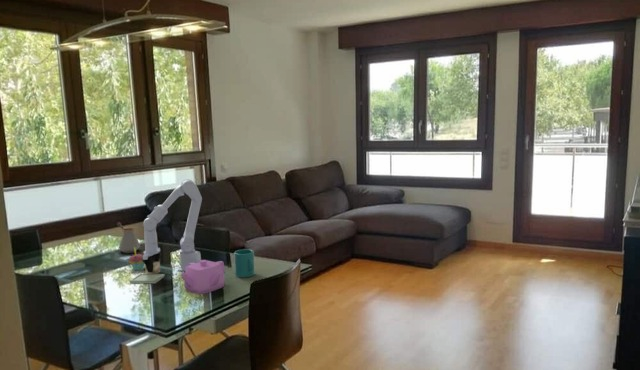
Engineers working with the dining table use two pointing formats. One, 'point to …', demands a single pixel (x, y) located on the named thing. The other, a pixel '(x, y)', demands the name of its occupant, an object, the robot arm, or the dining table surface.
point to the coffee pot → (128, 241)
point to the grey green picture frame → (147, 278)
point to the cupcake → (136, 261)
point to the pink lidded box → (204, 276)
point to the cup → (244, 263)
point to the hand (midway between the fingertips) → (152, 270)
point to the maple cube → (154, 268)
